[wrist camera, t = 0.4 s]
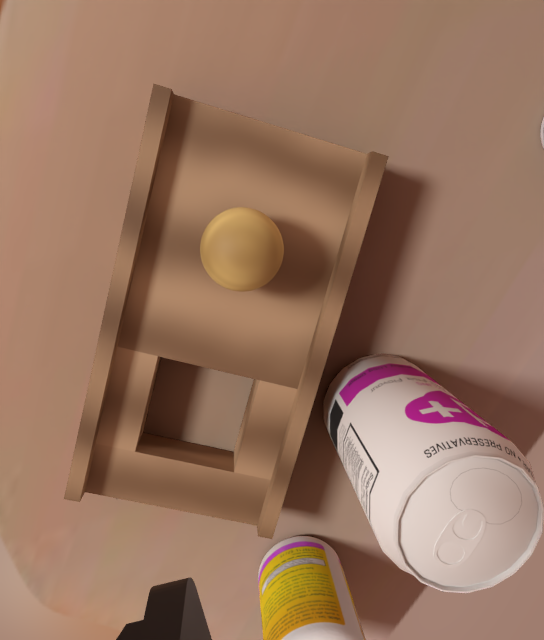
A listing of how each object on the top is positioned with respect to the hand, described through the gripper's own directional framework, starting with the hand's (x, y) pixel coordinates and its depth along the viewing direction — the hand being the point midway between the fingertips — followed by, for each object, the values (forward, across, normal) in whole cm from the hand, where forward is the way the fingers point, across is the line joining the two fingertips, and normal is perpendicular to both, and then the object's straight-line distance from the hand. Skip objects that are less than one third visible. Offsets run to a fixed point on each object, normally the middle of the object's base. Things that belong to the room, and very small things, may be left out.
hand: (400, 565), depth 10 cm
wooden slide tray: (+26, +4, 0) cm, 26 cm away
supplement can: (+26, -5, +9) cm, 28 cm away
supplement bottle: (+26, +3, +21) cm, 34 cm away
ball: (+21, +2, -5) cm, 21 cm away
